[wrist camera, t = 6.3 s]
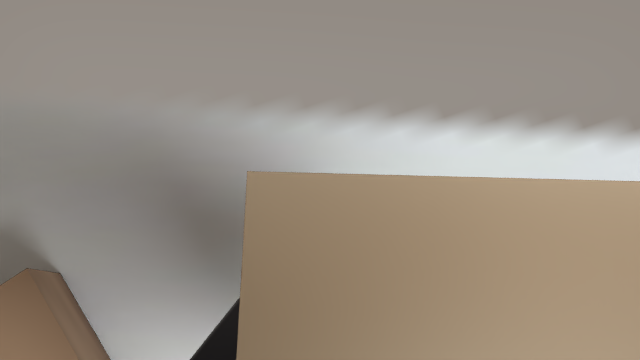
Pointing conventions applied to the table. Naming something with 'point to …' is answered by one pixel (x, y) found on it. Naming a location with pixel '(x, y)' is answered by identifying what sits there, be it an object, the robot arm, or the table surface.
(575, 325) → the birch block
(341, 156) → the table surface
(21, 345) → the walnut base block
